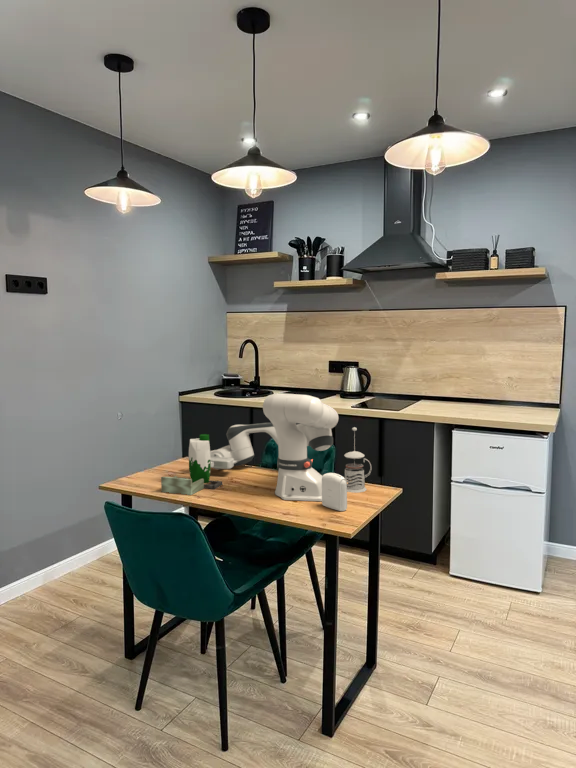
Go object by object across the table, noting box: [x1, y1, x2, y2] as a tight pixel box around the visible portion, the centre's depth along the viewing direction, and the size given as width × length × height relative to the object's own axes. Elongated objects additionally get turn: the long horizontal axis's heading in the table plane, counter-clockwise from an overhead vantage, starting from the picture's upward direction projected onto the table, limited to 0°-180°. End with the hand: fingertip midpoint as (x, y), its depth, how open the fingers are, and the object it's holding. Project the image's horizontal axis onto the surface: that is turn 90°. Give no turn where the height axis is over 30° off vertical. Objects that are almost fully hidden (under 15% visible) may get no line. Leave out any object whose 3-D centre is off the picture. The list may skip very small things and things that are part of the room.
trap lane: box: [160, 475, 223, 496], centre depth 215 cm, size 23×17×6 cm
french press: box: [343, 426, 373, 494], centre depth 210 cm, size 10×12×25 cm
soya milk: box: [188, 433, 211, 484], centre depth 224 cm, size 9×9×20 cm
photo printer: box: [321, 472, 348, 512], centre depth 187 cm, size 10×4×12 cm, turn 39°
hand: (203, 466), depth 229 cm, fingers closed
